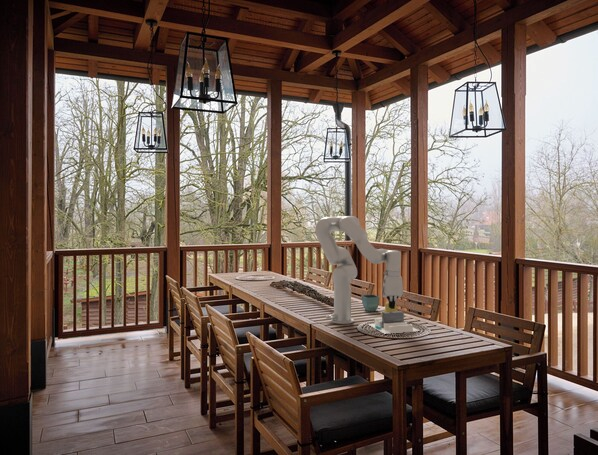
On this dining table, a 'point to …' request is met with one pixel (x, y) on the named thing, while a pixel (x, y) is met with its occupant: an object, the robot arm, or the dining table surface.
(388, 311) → the handbell
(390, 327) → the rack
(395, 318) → the panel
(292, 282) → the dining table surface
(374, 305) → the flower pot
